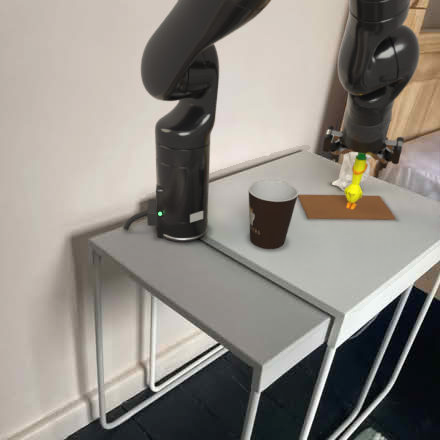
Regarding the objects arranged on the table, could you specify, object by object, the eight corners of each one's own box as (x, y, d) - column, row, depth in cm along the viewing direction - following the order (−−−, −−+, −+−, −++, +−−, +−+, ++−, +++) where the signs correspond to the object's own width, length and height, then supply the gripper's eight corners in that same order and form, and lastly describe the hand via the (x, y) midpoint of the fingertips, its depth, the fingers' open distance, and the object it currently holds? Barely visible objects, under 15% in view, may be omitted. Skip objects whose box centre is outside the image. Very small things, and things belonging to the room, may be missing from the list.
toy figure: (347, 198, 107) (359, 143, 99) (363, 202, 105) (377, 147, 98) (338, 210, 102) (350, 154, 95) (355, 215, 100) (368, 158, 93)
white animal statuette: (322, 185, 113) (332, 132, 106) (340, 177, 116) (350, 126, 109) (354, 198, 108) (366, 144, 101) (371, 190, 112) (384, 137, 105)
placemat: (307, 218, 99) (308, 216, 99) (298, 196, 107) (298, 194, 107) (394, 219, 101) (395, 217, 100) (378, 197, 109) (379, 195, 108)
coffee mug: (288, 255, 88) (296, 204, 82) (240, 248, 89) (244, 197, 83) (293, 224, 97) (301, 176, 91) (250, 218, 98) (254, 171, 92)
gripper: (319, 134, 85) (319, 172, 100) (405, 149, 81) (391, 186, 97) (330, 94, 86) (328, 138, 101) (415, 107, 82) (400, 150, 98)
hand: (359, 161), depth 99 cm, fingers open, 8 cm apart
